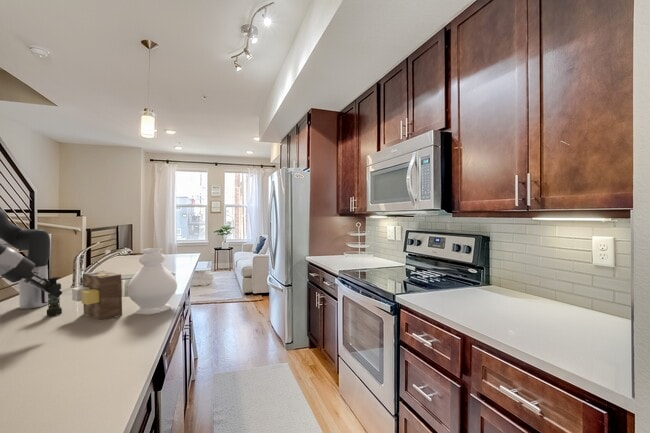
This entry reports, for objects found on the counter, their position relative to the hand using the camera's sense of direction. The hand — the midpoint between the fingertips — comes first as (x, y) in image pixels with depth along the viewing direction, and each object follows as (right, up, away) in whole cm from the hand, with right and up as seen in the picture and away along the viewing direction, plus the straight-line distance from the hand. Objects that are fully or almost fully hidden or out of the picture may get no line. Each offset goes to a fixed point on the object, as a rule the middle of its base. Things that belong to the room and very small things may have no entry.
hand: (59, 294), depth 107 cm
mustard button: (+5, -5, +9) cm, 11 cm away
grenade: (-16, -12, +15) cm, 25 cm away
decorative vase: (+21, -11, +21) cm, 32 cm away
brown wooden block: (+4, -12, +15) cm, 19 cm away
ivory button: (-2, -5, +13) cm, 14 cm away
